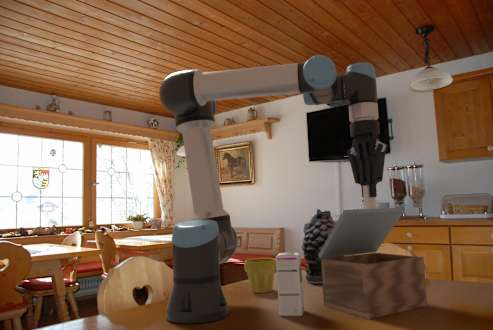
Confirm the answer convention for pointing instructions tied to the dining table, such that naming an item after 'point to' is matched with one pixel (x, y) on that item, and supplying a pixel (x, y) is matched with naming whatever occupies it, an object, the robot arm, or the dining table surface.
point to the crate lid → (360, 231)
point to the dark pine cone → (316, 244)
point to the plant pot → (260, 274)
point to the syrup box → (289, 284)
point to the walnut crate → (374, 284)
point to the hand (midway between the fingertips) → (370, 210)
